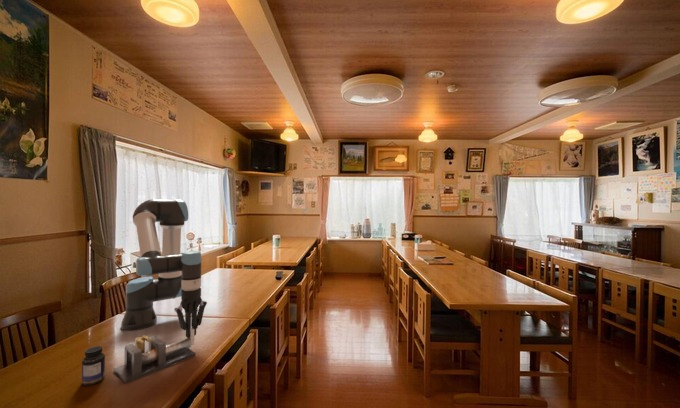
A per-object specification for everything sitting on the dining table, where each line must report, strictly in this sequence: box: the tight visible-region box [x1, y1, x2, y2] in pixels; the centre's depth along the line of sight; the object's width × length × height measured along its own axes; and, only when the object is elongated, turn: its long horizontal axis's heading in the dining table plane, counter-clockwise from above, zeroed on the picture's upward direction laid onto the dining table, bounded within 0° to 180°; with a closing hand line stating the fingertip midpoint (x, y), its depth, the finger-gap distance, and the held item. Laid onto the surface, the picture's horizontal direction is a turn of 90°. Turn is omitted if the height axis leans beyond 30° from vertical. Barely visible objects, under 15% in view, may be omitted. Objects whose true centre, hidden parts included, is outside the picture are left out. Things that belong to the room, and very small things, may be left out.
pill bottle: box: [81, 345, 106, 386], centre depth 102 cm, size 6×6×11 cm
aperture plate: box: [134, 335, 151, 354], centre depth 112 cm, size 7×3×9 cm, turn 53°
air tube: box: [142, 337, 193, 365], centre depth 116 cm, size 20×4×4 cm, turn 143°
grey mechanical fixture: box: [113, 335, 196, 385], centre depth 114 cm, size 12×24×9 cm, turn 143°
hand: (190, 344), depth 124 cm, fingers closed
